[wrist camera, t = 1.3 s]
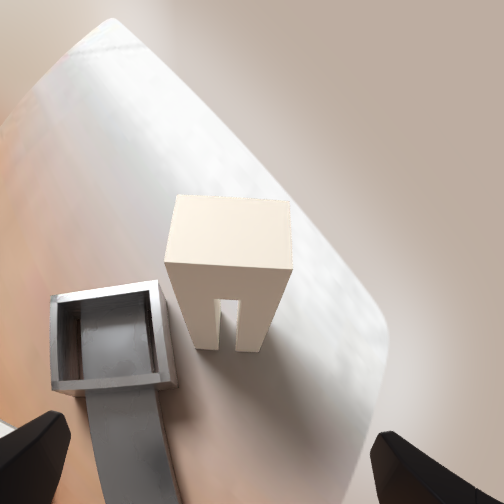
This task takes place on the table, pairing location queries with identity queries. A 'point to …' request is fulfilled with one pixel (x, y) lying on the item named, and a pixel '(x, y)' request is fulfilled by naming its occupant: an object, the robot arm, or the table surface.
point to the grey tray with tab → (119, 384)
